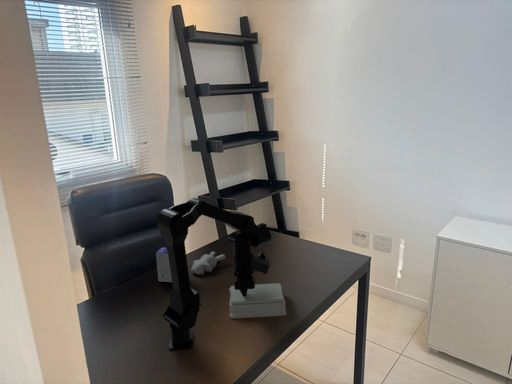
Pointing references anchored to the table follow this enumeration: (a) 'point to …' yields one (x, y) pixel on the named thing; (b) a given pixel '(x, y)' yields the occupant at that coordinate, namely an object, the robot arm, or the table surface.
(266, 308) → the base
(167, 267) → the ink cartridge box
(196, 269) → the bunny figurine
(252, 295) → the duct cover
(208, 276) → the table surface
